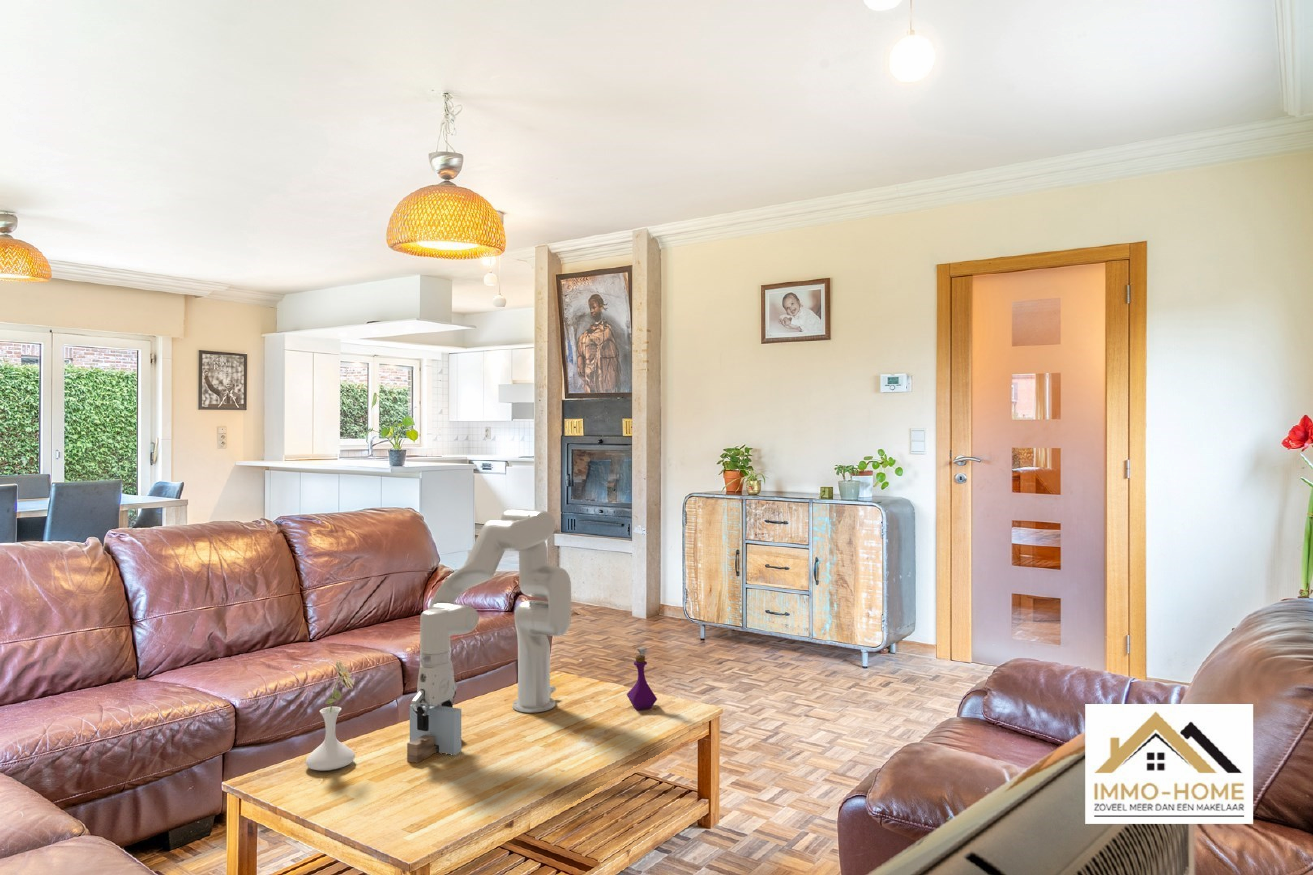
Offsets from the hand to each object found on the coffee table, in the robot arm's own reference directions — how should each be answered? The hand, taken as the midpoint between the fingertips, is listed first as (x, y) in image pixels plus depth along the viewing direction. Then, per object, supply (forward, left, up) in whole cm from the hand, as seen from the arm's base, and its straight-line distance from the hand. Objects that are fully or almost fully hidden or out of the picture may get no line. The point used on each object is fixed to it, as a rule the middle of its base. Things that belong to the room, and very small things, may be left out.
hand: (435, 724), depth 216 cm
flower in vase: (+18, -17, -7) cm, 26 cm away
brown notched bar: (0, 0, -7) cm, 7 cm away
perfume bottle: (-52, +35, -7) cm, 63 cm away
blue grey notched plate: (0, 0, -7) cm, 7 cm away
